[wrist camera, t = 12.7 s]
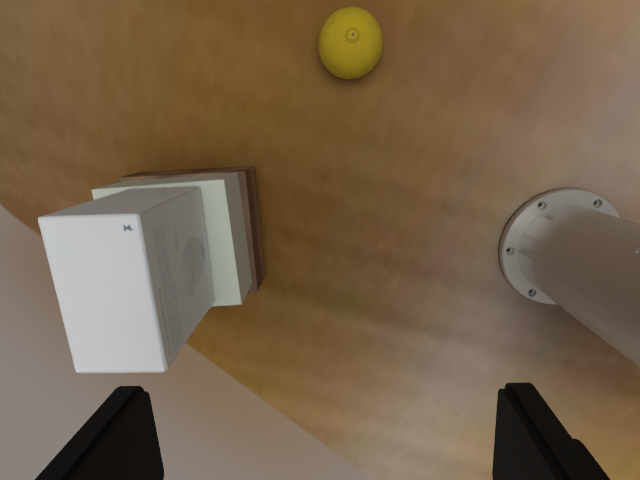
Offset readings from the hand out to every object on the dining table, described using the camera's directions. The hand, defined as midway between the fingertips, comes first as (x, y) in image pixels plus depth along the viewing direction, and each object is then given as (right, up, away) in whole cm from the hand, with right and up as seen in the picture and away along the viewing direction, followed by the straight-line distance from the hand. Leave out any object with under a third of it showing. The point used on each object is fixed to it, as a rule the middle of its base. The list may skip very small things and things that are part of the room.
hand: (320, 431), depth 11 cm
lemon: (+3, +23, +28) cm, 36 cm away
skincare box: (-13, +4, +24) cm, 27 cm away
